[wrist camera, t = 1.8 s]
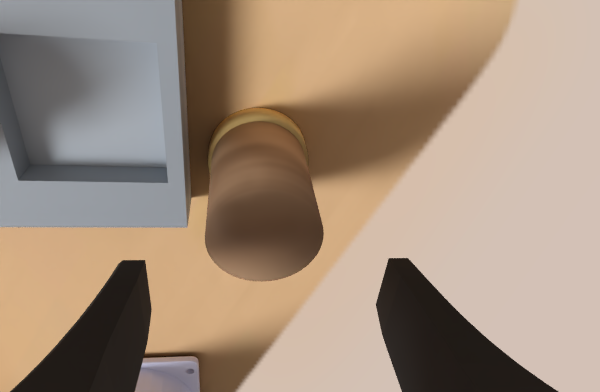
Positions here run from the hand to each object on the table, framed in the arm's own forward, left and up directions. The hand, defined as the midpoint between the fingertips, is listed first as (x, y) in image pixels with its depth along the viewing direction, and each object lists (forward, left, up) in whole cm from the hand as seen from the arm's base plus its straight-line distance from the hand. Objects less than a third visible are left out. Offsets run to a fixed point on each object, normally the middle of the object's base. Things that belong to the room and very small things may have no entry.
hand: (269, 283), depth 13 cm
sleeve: (0, 0, -8) cm, 8 cm away
